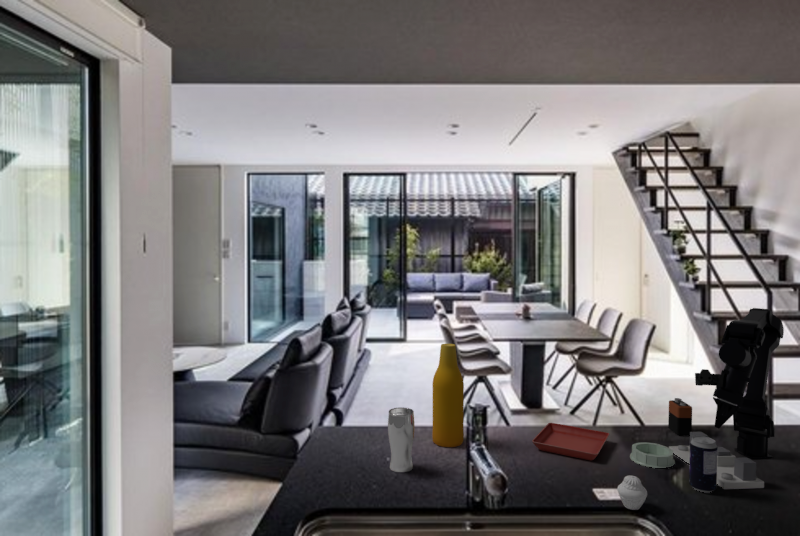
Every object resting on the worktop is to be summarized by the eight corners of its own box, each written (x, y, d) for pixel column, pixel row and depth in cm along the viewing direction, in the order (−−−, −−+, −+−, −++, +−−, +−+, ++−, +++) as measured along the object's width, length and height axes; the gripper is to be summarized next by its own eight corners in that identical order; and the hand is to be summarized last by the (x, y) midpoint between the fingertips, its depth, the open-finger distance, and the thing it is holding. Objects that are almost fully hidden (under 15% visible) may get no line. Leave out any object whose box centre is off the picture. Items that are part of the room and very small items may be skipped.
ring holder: (660, 451, 149) (660, 441, 149) (683, 468, 138) (684, 456, 138) (622, 452, 148) (622, 442, 148) (642, 469, 137) (643, 458, 137)
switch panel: (669, 451, 149) (669, 431, 149) (703, 450, 150) (703, 430, 150) (724, 489, 126) (724, 465, 126) (764, 487, 127) (764, 464, 127)
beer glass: (418, 464, 141) (418, 409, 140) (407, 475, 134) (407, 417, 134) (394, 460, 144) (394, 405, 143) (383, 470, 137) (383, 413, 137)
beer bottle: (429, 446, 154) (429, 346, 152) (436, 435, 163) (436, 341, 161) (460, 449, 151) (460, 348, 150) (466, 438, 160) (466, 342, 159)
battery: (681, 428, 168) (682, 397, 167) (692, 436, 161) (693, 404, 161) (667, 428, 168) (668, 397, 168) (677, 436, 161) (678, 403, 161)
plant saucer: (597, 465, 141) (597, 453, 141) (530, 452, 150) (531, 440, 150) (610, 443, 156) (610, 432, 156) (548, 432, 166) (549, 422, 165)
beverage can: (713, 485, 128) (714, 436, 128) (718, 496, 123) (720, 445, 122) (687, 482, 130) (688, 434, 130) (691, 492, 125) (692, 442, 124)
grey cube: (722, 458, 140) (722, 446, 140) (730, 463, 137) (730, 451, 137) (710, 458, 140) (710, 447, 140) (718, 463, 136) (718, 451, 136)
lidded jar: (629, 515, 114) (630, 483, 114) (611, 501, 120) (611, 471, 120) (653, 511, 116) (654, 479, 116) (634, 498, 122) (634, 468, 122)
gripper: (703, 359, 147) (684, 412, 147) (701, 356, 131) (680, 415, 131) (749, 375, 141) (729, 431, 141) (753, 373, 125) (731, 436, 125)
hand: (716, 427), depth 135 cm, fingers closed
